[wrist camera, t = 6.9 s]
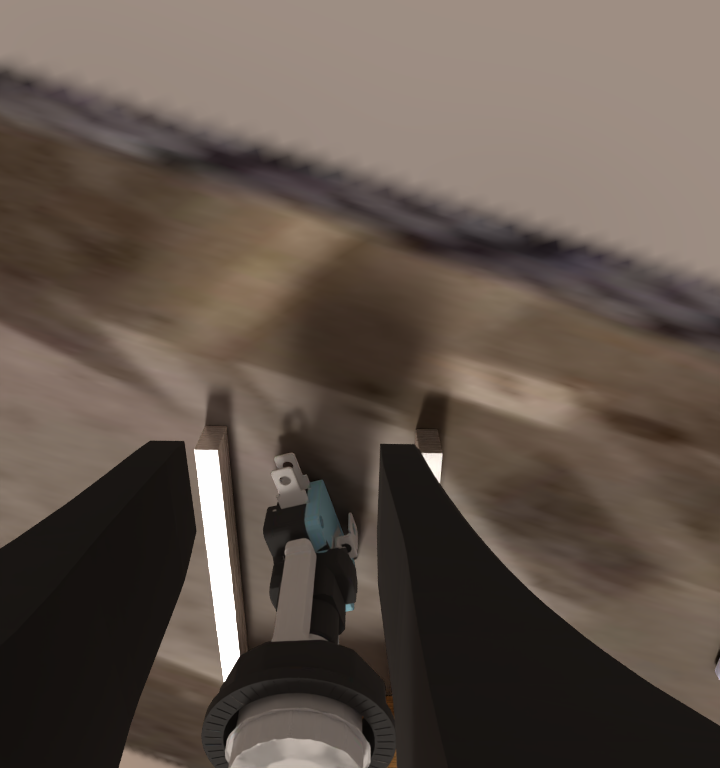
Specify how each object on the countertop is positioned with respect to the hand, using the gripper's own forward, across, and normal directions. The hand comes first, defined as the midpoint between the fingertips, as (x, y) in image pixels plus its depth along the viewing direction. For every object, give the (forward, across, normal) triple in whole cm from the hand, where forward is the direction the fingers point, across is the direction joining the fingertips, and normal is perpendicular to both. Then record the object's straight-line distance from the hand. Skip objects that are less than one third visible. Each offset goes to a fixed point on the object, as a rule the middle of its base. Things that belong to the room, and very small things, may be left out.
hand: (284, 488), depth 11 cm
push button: (+11, 0, +9) cm, 14 cm away
